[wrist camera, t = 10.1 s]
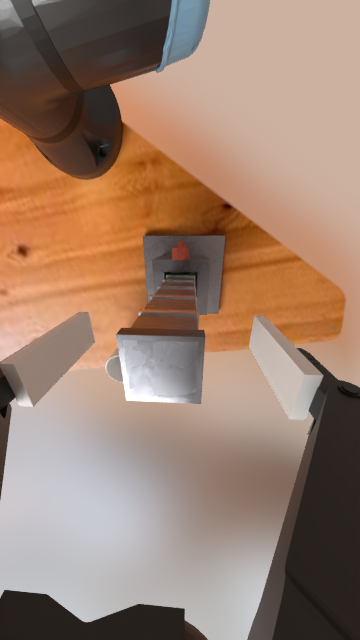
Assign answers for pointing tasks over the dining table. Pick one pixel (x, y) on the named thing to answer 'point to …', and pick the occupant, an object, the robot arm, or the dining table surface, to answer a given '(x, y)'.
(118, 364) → the mug
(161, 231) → the dining table surface
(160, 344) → the column
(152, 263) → the sleeve
